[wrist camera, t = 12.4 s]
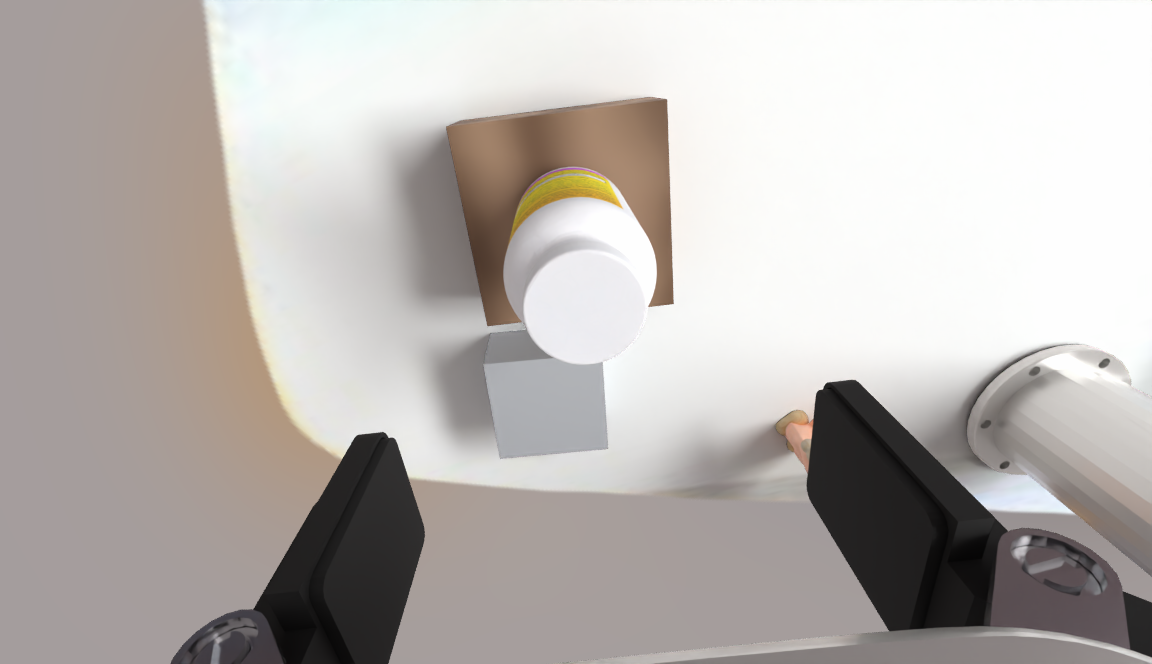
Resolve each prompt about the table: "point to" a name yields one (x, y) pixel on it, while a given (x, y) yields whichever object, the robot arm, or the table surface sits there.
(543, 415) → the grey block
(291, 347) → the table surface
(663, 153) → the walnut block
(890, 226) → the table surface
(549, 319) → the supplement bottle
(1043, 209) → the table surface
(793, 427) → the grandmother figurine
